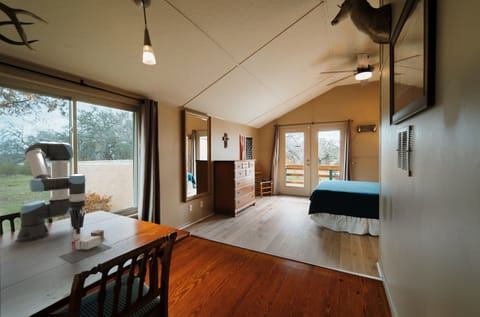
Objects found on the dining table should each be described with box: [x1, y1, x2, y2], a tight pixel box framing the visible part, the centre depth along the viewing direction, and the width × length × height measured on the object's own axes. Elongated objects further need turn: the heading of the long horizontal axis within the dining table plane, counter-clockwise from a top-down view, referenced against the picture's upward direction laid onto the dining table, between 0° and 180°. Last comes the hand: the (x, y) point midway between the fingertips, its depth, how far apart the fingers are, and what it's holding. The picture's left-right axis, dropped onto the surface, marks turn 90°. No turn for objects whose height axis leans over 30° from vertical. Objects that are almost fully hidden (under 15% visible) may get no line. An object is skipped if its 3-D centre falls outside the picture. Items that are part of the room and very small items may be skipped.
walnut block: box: [90, 229, 105, 239], centre depth 133 cm, size 5×5×5 cm
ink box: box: [71, 235, 102, 251], centre depth 119 cm, size 9×5×12 cm
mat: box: [58, 242, 112, 264], centre depth 115 cm, size 14×20×1 cm
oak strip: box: [61, 249, 80, 256], centre depth 118 cm, size 1×18×1 cm, turn 153°
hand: (77, 238), depth 120 cm, fingers closed
